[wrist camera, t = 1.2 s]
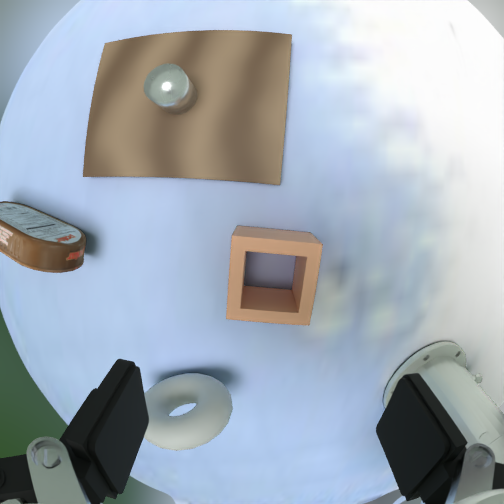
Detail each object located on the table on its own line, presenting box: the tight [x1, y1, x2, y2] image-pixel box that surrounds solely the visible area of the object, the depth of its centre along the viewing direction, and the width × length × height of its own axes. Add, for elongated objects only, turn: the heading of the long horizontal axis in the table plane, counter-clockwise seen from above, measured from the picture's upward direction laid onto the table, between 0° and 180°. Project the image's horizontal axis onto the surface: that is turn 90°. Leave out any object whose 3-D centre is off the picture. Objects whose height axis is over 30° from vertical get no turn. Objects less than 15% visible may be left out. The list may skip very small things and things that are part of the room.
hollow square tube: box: [226, 226, 323, 325], centre depth 23 cm, size 6×6×5 cm
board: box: [83, 30, 292, 185], centre depth 21 cm, size 18×14×2 cm
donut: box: [144, 373, 233, 451], centre depth 24 cm, size 10×4×10 cm, turn 103°
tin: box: [0, 201, 86, 273], centre depth 21 cm, size 15×3×8 cm, turn 70°
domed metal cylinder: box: [144, 64, 197, 115], centre depth 19 cm, size 3×3×4 cm
